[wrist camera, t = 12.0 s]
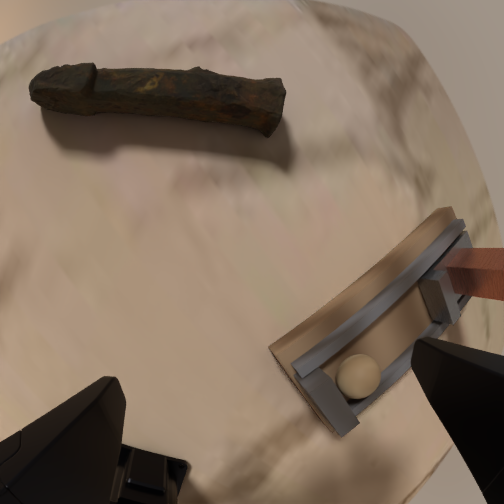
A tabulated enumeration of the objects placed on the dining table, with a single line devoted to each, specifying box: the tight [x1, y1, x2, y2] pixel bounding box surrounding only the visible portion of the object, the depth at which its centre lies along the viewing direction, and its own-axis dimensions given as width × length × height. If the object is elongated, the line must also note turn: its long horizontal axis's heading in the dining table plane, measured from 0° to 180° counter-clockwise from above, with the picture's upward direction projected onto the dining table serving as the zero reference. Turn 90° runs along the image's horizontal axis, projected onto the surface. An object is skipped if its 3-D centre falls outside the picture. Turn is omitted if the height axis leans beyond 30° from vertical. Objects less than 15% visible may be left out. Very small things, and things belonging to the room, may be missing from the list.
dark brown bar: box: [29, 63, 286, 138], centre depth 17 cm, size 19×4×5 cm, turn 82°
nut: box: [336, 354, 381, 399], centre depth 18 cm, size 3×3×3 cm
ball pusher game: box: [269, 206, 472, 437], centre depth 20 cm, size 20×9×5 cm, turn 123°
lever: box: [417, 231, 504, 325], centre depth 17 cm, size 7×4×9 cm, turn 123°
